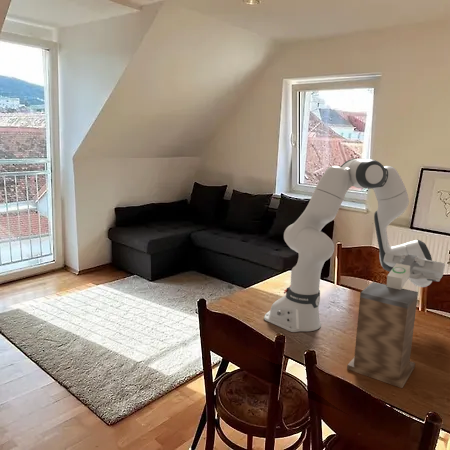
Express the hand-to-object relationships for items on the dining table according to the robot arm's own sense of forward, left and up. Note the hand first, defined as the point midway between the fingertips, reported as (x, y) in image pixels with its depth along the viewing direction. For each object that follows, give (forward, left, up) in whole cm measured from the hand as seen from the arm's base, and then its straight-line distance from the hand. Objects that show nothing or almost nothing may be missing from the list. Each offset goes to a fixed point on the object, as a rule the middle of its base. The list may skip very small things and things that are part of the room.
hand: (410, 258), depth 150 cm
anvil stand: (0, -22, -32) cm, 39 cm away
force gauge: (0, -8, -4) cm, 9 cm away
